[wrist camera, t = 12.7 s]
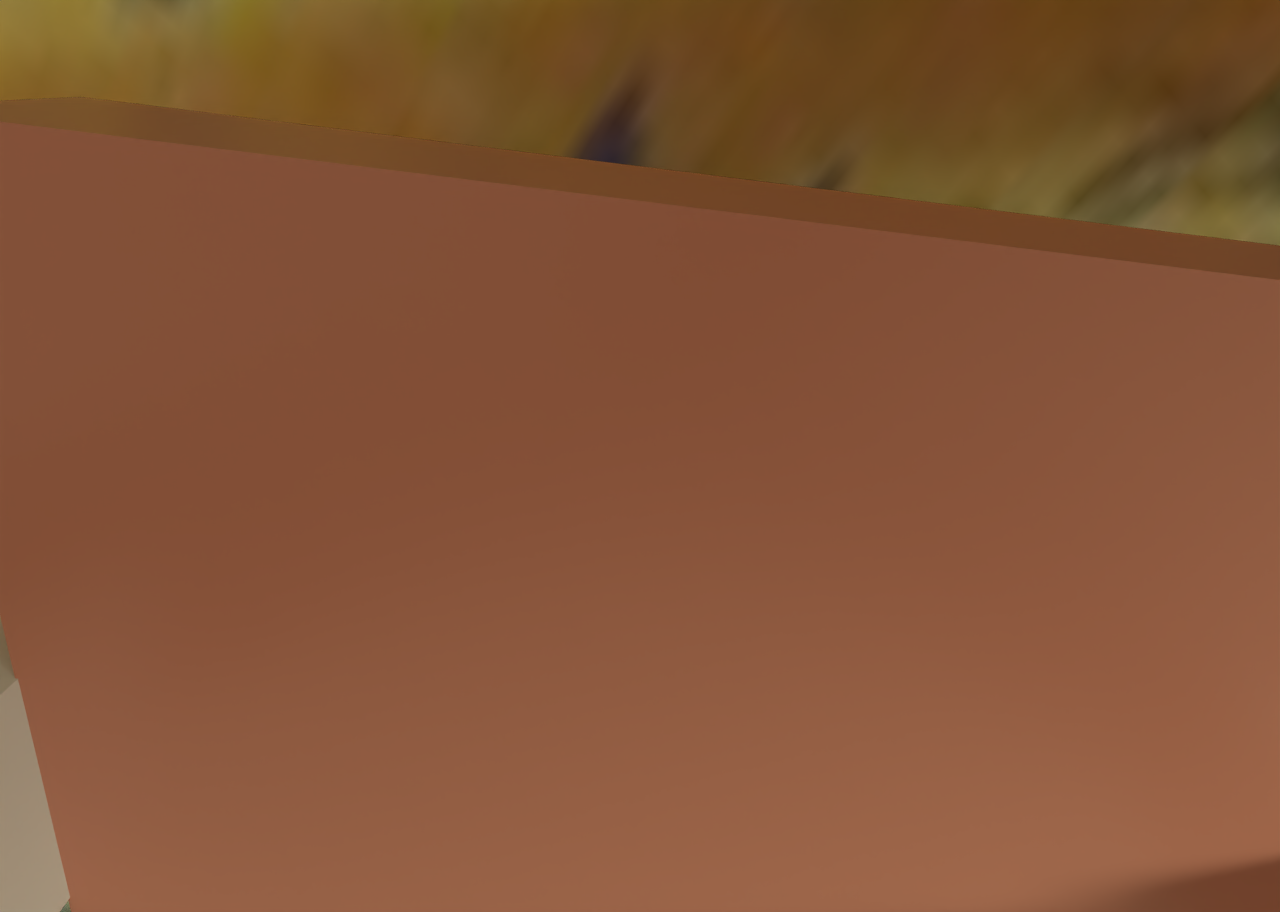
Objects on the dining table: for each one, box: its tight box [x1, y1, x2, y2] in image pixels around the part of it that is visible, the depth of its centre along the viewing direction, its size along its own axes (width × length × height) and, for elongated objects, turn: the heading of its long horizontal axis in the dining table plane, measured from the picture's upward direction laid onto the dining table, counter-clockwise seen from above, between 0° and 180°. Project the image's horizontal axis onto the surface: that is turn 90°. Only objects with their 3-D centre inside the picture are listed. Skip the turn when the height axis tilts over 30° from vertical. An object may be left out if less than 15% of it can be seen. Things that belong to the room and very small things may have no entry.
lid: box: [0, 97, 1280, 912], centre depth 9 cm, size 12×12×3 cm
